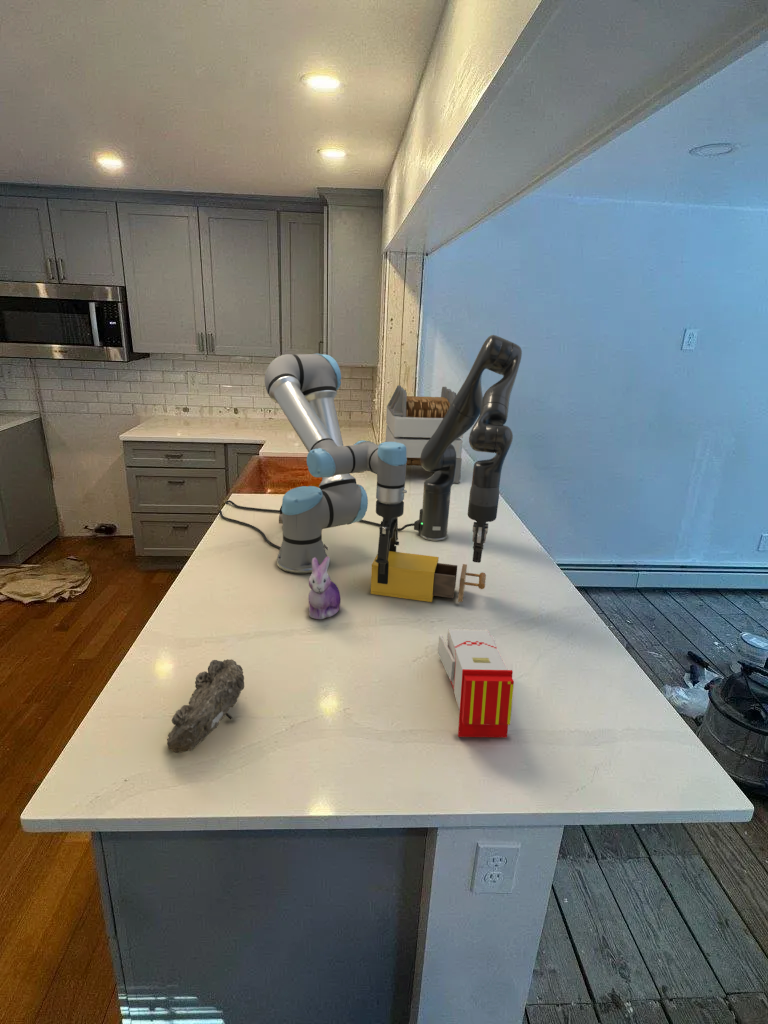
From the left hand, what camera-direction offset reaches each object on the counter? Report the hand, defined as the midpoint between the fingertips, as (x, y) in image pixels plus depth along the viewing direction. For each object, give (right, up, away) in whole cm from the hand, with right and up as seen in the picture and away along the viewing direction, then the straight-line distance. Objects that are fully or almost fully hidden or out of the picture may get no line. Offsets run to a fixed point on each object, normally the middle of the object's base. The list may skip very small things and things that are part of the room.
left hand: (386, 574), depth 160 cm
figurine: (-16, -8, -13) cm, 22 cm away
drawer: (+16, -5, -2) cm, 17 cm away
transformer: (+17, +36, +115) cm, 122 cm away
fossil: (-34, -21, -52) cm, 65 cm away
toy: (+17, -20, -41) cm, 49 cm away
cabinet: (+5, -4, 0) cm, 7 cm away
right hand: (+24, +4, -7) cm, 26 cm away
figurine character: (-35, +14, +45) cm, 58 cm away
